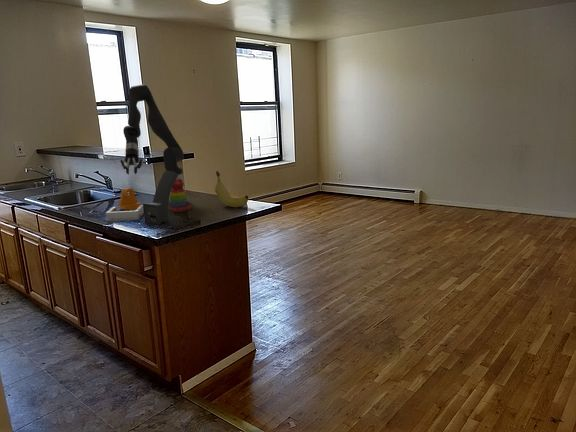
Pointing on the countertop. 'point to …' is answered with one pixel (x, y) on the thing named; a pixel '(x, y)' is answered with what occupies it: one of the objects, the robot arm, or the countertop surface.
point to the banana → (228, 195)
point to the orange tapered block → (128, 200)
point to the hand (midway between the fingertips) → (131, 173)
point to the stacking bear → (178, 197)
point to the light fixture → (160, 200)
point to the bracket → (124, 214)
